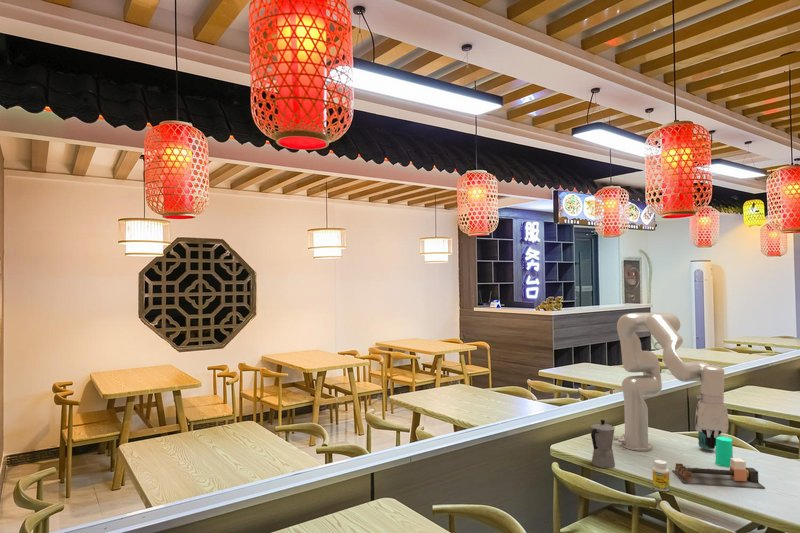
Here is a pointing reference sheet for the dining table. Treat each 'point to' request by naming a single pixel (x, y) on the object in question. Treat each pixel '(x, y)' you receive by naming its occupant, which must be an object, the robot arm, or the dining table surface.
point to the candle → (724, 451)
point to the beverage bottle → (703, 440)
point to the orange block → (738, 469)
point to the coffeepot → (602, 445)
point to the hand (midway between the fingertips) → (710, 446)
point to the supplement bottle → (661, 476)
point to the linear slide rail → (715, 477)
